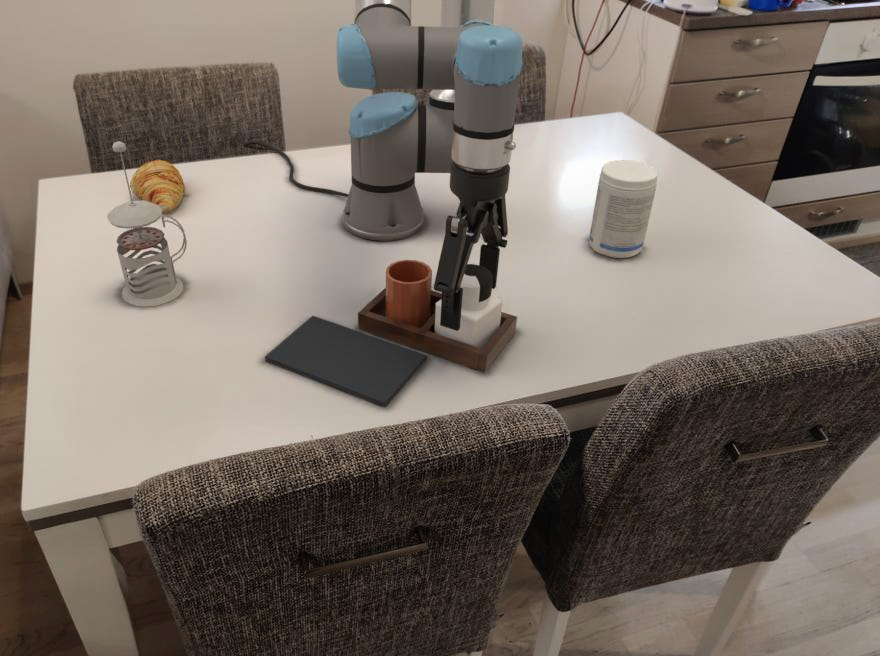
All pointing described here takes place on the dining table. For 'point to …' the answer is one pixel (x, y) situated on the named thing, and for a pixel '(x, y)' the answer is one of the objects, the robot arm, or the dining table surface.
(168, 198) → the croissant
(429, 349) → the cup holder
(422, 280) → the terracotta cup
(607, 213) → the supplement tub
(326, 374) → the mat
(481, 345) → the medicine bottle
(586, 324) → the dining table surface
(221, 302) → the dining table surface
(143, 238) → the french press
